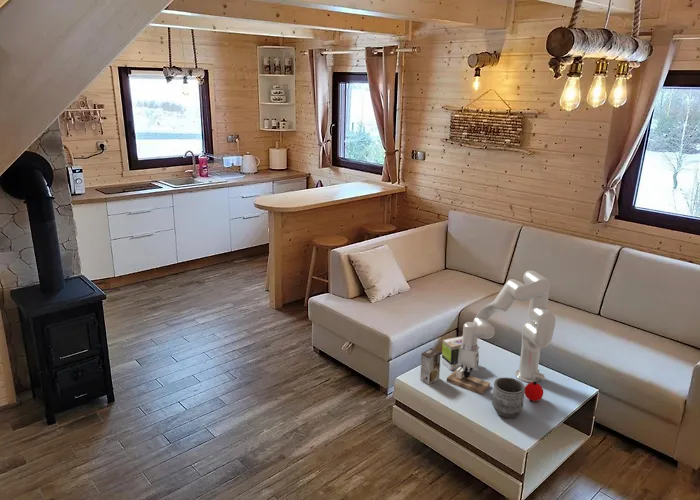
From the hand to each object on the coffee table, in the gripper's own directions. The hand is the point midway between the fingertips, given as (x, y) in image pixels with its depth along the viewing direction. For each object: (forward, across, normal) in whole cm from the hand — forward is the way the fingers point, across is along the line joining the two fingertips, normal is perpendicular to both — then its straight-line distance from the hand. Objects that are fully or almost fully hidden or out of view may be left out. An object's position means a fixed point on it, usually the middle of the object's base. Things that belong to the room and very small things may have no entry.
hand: (466, 377), depth 274 cm
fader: (+1, +4, 0) cm, 4 cm away
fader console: (+4, -1, 0) cm, 4 cm away
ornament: (+4, -33, -7) cm, 34 cm away
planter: (+4, -27, +12) cm, 30 cm away
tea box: (+4, +13, -15) cm, 20 cm away
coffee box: (+4, +17, +9) cm, 20 cm away
